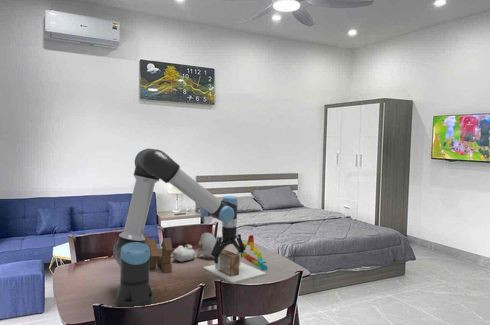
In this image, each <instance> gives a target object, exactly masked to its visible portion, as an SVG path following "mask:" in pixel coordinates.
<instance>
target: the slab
mask: <svg viewBox="0 0 490 325" xmlns="http://www.w3.org/2000/svg"><path fill="white" fill-rule="evenodd" d="M219 257H220V270H218V271H220V272H222V273H224V274H226V275H229V276H231V277H232V276H236V275H239V257H240V255H237V253H234V252H232V251H230V250H227V249H225V250H222V252H221V254H220V255H219Z"/></svg>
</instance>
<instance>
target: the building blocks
mask: <svg viewBox="0 0 490 325" xmlns="http://www.w3.org/2000/svg"><path fill="white" fill-rule="evenodd" d="M130 203H131V201H129V207H130ZM143 236H144V238H145V242H144V244H146V245H148V246H149V249H150V269H155V268H157V265H158V266H160V269H161V270H162V272H163V273H165V274H168V273H172V272H173V265H172V262H171V260H172V258H171V255H172V251H174V250H173V249H174V248H173V244H172V238H171V237H165V238H163V239H162V241H161V244H160V247H161V248H158V244H157V239H156V238H151V239H150V237H149V234H148V233H145V234H144V233H143Z"/></svg>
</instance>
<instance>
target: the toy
mask: <svg viewBox="0 0 490 325" xmlns="http://www.w3.org/2000/svg"><path fill="white" fill-rule="evenodd" d="M199 239H200V240H199V241H198V243H197V246H198V247H199V248H200V247H201V249H199V250H198V252H197V254H196V258H197V259H198V258H199V257H200V255H202V256H203V257H207V256H208V257H209V256H211V257H212V259H214V256H212V255H211V253H212V251H213V248H214V246H215V244H216V241H217V237H215V236H214V234H212V233H211V232H204V233H203V232H202V234H200V238H199ZM224 244H225V243H224ZM228 246H229V245H226V246H225V247H224V249H223V250H227V248H228Z"/></svg>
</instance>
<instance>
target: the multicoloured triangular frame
mask: <svg viewBox="0 0 490 325" xmlns="http://www.w3.org/2000/svg"><path fill="white" fill-rule="evenodd" d="M243 245H244V248H245V250H246V249H247V246H249V248H250V249H249V250H250V252H253V255H256V256H257V259H256V258H255V257H253V256H252V255H250V254H248V253H247V252H246V251H243V253H242V258H244V259H246V260H247V262H249V263H251V264H253V265H254V266H255V267H257V269H258V268H259V270H260V271H267V270H268V266H267V265H265V264H267V261H264V260H263V256H262V252H261V251H258V247H257V246H256V247H255V240H254V235H253V234H252V235H249V236H248V239H247V242H243Z"/></svg>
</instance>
